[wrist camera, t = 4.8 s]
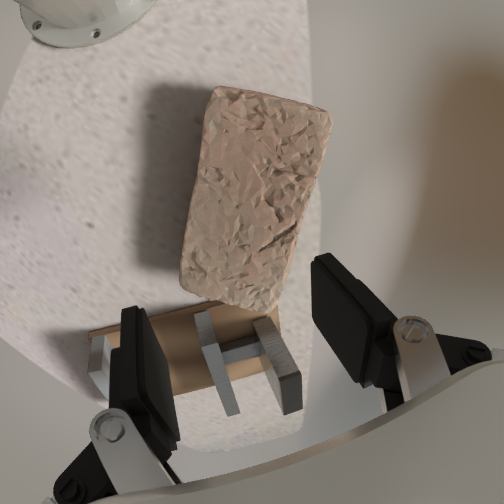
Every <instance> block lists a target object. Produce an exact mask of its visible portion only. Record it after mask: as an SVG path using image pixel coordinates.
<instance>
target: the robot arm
mask: <svg viewBox="0 0 504 504" xmlns="http://www.w3.org/2000/svg"><path fill="white" fill-rule="evenodd" d="M14 1H16V2H17V3H19V4H20V11H21V18H22V20H23V22H24V24H25V27H26V28H27V29H28V30H29V31H30V33H31V34H32V35H33V36H35V37H36V38H37V39H39V40H40V41H42V42H44V43H46V44H49V45H52V46H56V47H60V48H80V47H88V46H91V45H95V44H99V43H102V42H104V41H107V40H109V39H111V38H114V37H116V36H118V35H119V34H121V33H123V32H125V31H126V30H128V29H129V28H131V27H132V26H133V25H135V24H136V23H137V22H138V21H140V20H141V19H142V18H143V17H144V16H145V15H146V14H147V13H148V12H149V11H150V10H151V9H152V7H153V6H154V5H155V3H156V2H157V0H14ZM40 24H42V25H41V27H40V28H39V29H37V27H38V26H39V25H40ZM96 32H99V33H100V35H99V37H97V38H95V37H94V34H95V33H96ZM311 295H312V318H313V321H314V323H315V324H316V326H317V327H318V329H319V330H320V332H321V333H322V335H323V336H324V338H325V339H326V341H327V342H328V344H329V345H330V347H331V348H332V350H333V351H334V353H335V354H336V355H337V357H338V358H339V360H340V361H341V363H342V364H343V366H344V367H345V369H346V370H347V372H348V373H349V375H350V376H351V378H352V379H353V381H354V382H355V383H358V382H359V383H360V384H361V386H362V387H363V388H366V387H368V386H370V385H372V384H373V385H374V386H375V387H377V388H379V392H380V399H381V405H382V410H383V415H381V416H379V417H377V418H375V419H373V420H371V421H369V422H367V423H365V424H363V425H360V426H358V427H356V428H354V429H352V430H350V431H347V432H345V433H343V434H341V435H338V436H336V437H334V438H331V439H329V440H326V441H325V442H322V443H319V444H317V445H314V446H312V447H309V448H307V449H304V450H301V451H298V452H295V453H293V454H290V455H287V456H284V457H281V458H278V459H275V460H272V461H269V462H266V463H263V464H259V465H256V466H253V467H249V468H246V469H243V470H239V471H235V472H231V473H228V474H224V475H219V476H215V477H211V478H206V479H202V480H197V481H192V482H187V483H184V482H183V481H182V480H181V478H180V477H179V476H178V474H177V473H176V472H175V470H174V469H173V467H172V466H171V465H170V463H169V462H168V459H169V458H170V456H171V455H172V453H171V451H174V450H177V445H176V442H177V441H180V433H179V428H178V422H177V417H176V411H175V405H174V399H173V393H172V386H171V379H170V372H169V366H168V362H167V359H166V356H165V354H164V352H163V350H162V348H161V346H160V344H159V341H158V339H157V337H156V335H155V333H154V330H153V328H152V326H151V324H150V321H149V319H148V317H147V314H146V312H145V310H144V308H141V309H139V308H138V306H132V307H128V308H124V309H122V312H121V329H120V347H118V348H113V349H112V350H111V354H110V375H109V409H106V410H103V411H101V412H100V413H98V414H97V415H96V416H95V417H94V418H93V420H92V422H91V424H90V430H89V433H90V437H91V440H92V441H91V442H90V443H89V445H88V446H87V447H86V448H85V449H84V450H83V451H82V452H81V454H79V456H78V457H77V458H76V459H75V460H74V461H73V462H72V463H71V464H70V465H69V466H68V467H67V469H66V470H65V471H64V472H63V473H62V474H61V475H60V476H59V477H58V479H57V480H56V482H55V484H54V488H53V489H54V491H53V494H54V496H53V497H52V498H49V497H47V498H46V499H45V500H44V501H43V502H42V503H41V504H504V349H497V348H493V349H492V351H490V350H489V348H488V347H487V346H486V345H485V344H483V343H482V342H480V341H476V340H471V339H464V338H459V337H453V336H447V335H440V334H435V332H434V330H433V328H432V326H431V325H430V323H429V322H428V321H426V320H425V319H423V318H421V317H418V316H405V317H402V318H400V319H398V318H397V317H395V315H394V314H393V313H392V312H391V311H390V310H389V309H388V308H387V307H386V306H385V305H384V304H383V303H382V302H381V301H380V300H379V299H378V298H377V297H376V296H375V295H374V293H373V292H372V291H371V290H370V289H369V288H368V287H367V286H366V285H365V284H364V283H363V282H361V281H360V280H359V279H356V278H355V277H354V276H353V275H352V274H351V273H350V272H349V271H348V270H347V269H346V268H345V267H344V266H343V265H342V264H341V263H340V262H339V261H338V260H337V259H336V258H335V257H334V256H333V255H332V254H331V253H326V254H322V255H319V256H316V257H315V258H314V261H312V262H311Z"/></svg>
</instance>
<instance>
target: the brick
mask: <svg viewBox="0 0 504 504" xmlns="http://www.w3.org/2000/svg"><path fill="white" fill-rule="evenodd" d="M332 124H333V117H332V116H331V115H330V114H329V113H328V112H327V111H325V110H323V109H320V108H318V107H313V106H311V105H309V104H305V103H299V102H297V101H294V100H289V99H285V98H280V97H276V96H273V95H269V94H265V93H261V92H256V91H250V90H242V89H237V88H230V87H225V86H218V87H216V88H215V90H214V91H213V93H212V95H211V97H210V99H209V101H208V103H207V105H206V109H205V115H204V122H203V129H202V141H201V147H200V156H199V162H198V171H197V177H196V181H195V184H194V188H193V192H192V197H191V202H190V206H189V213H188V219H187V224H186V229H185V234H184V241H183V247H182V256H181V260H180V276H179V282H180V285H181V287H182V288H183V289H184V290H186V291H188V292H190V293H194V294H196V295H197V296H199V297H204V298H206V299H208V300H209V301H213V300H218V301H221V302H223V303H226V304H229V305H236V306H239V307H240V308H243V309H246V310H251V311H255V312H259V313H261V314H269V313H270V312H271V311H272V310H273V309H274V308H275V307H276V306H277V303H278V300H279V296H280V294H281V292H282V290H283V287H284V284H285V282H286V279H287V276H288V274H289V270H290V267H291V262H292V258H293V253H294V251H295V248H296V241H297V234H299V232H300V227H301V223H302V219H303V214H304V212H305V210H306V208H307V204H308V202H309V200H310V196H311V193H312V191H313V188H314V186H315V184H316V177H317V175H318V173H319V172H320V169H321V165H322V161H323V158H324V155H325V152H326V148H327V144H328V138H329V135H330V134H331V129H332Z"/></svg>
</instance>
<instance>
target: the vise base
mask: <svg viewBox="0 0 504 504" xmlns="http://www.w3.org/2000/svg"><path fill="white" fill-rule="evenodd" d="M208 310H209V313H210V317H211V320H212V324H213V327H214V331H215V334H216V337H217V341H218V344H219V345H222V344H225V343H229V342H232V341H236V340H239V339H243V338H246V337H250V336H253V335H254V330H253V324H252V322H253V321H256V320H259V319H263V318H266V317H269V316H270V317H271V319H272V320H273V322H274V324H275V326H276V328H277V330H278V332H279V334H280V335H281V333H280V323H279V314H278V306H276V307H275V308H274V309H273V310H272V311H271V312H270V313H269V314H261V313H259V312H255V311H251V310H246V309H243V308H240V307H239V306H236V305H229V304H226V303H223V302H221V301H218V300H214V301H210V302H207V303H203V304H199V305H196V306H192V307H188V308H184V309H180V310H177V311H173V312H169V313H165V314H161V315H157V316H153V317H149V318H148V319H149V321H150V324H151V326H152V328H153V330H154V333H155V335H156V337H157V339H158V341H159V344H160V346H161V348H162V350H163V352H164V354H165V356H166V359H167V362H168V366H169V372H170V379H171V386H172V393H173V396H175V395H179V394H184V393H188V392H192V391H196V390H200V389H204V388H208V387H212V386H215V383H214V381H213V378H212V375H211V373H210V370H209V367H208V365H207V362H206V359H205V356H204V353H203V351H202V348H201V344H200V340H199V335H198V331H197V326H196V322H195V317H194V314H197V313H200V312H204V311H208ZM120 329H121V325H117V326H112V327H108V328H104V329H100V330H96V331H91V332H89V337H88V338H89V340H90V342H91V350H90V357H89V365H88V375H89V376H90V377H91V379H92V380H93V382H94V383H95V384H96V386H97V387H98V388H99V390H100V391H101V392H102V394H103V395H104V396H105V398H106V399H107V400H108V402H109V375H110V354H111V350H112V349H113V348H118V347H120ZM225 367H226V370H227V373H228V377H229V380H230V381H233V380H237V379H240V378H244V377H247V376H251V375H254V374H257V373H260V372H264V369H263V367H262V365H261V362H260V360H259V356H258V355H257V356H254V357H250V358H247V359H244V360H240V361H237V362H233V363H230V364H226V365H225Z"/></svg>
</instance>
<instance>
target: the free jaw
mask: <svg viewBox="0 0 504 504" xmlns="http://www.w3.org/2000/svg"><path fill="white" fill-rule="evenodd" d="M194 317H195V322H196V326H197V331H198V335H199V340H200V344H201V348H202V351H203V353H204V356H205V359H206V362H207V365H208V367H209V370H210V373H211V375H212V378H213V381H214V383H215V386H216V389H217V391H218V394H219V396H220V399H221V401H222V404H223V406H224V409H225V411H226V414H227V416H232V415H236V414H239V413H240V410H239V407H238V404H237V401H236V398H235V395H234V392H233V389H232V386H231V383H230V380H229V377H228V373H227V370H226V367H225V365H226V364H230V363H233V362H237V361H240V360H244V359H247V358H250V357H254V356H257V355H258V356H259V360H260V362H261V365H262V367H263V369H264V372H265V374H266V376H267V378H268V381H269V383H270V385H271V388H272V390H273V392H274V394H275V397H276V399H277V401H278V403H279V406H280V408H281V410H282V412H283V415H287V414H290V413H293V412H296V411H298V410H301V409H303V404H302V375H301V373H300V371H299V369H298V367H297V365H296V363H295V361H294V360H293V358H292V356H291V354H290V352H289V350H288V348H287V347H286V345H285V343H284V341H283V339H282V337H281V335H280V334H279V332H278V330H277V328H276V326H275V324H274V322H273V320H272V319H271V317H270V316H269V317H266V318H263V319H259V320H256V321H253V322H252V324H253V330H254V335H253V336H250V337H246V338H243V339H239V340H236V341H232V342H229V343H225V344H222V345H219V344H218V341H217V337H216V334H215V331H214V327H213V324H212V320H211V317H210V313H209V310H208V311H204V312H200V313H197V314H194Z"/></svg>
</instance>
